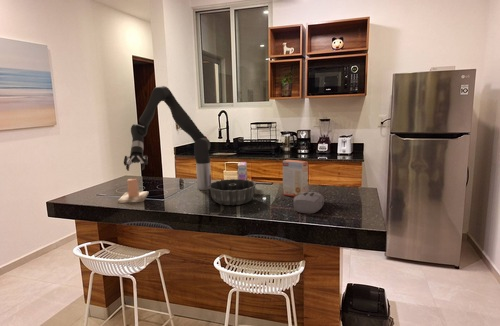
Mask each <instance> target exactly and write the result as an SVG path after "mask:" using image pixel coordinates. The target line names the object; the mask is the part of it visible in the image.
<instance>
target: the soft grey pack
mask: <svg viewBox="0 0 500 326" xmlns="http://www.w3.org/2000/svg"><path fill="white" fill-rule="evenodd" d="M324 202H325V197H324V195H323V194H322V193H319V192H315V191H308V192H303V193H300V194H298V196H295V197H293V200H292V204H293V209H294V211H295V212H298V213H302V214H311V215H312V214H315V213H318V212H319V211H320V210H321V209H322V208H323V206H324V205H325V203H324Z"/></svg>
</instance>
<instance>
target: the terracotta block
mask: <svg viewBox="0 0 500 326" xmlns="http://www.w3.org/2000/svg"><path fill="white" fill-rule="evenodd" d="M126 183H127V192H128V196H129V197H136V196H138V195H139V192H140V190H139V189H140V188H139V178H138V177H136V178H135V177H133V178H128V179H127V180H126Z"/></svg>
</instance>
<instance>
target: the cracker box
mask: <svg viewBox="0 0 500 326" xmlns="http://www.w3.org/2000/svg"><path fill="white" fill-rule="evenodd" d="M308 165H309V163H308V161H307V160H306V161H304V160H294V159H286V160H285V159H284V160H282V195H283V196H287V197H293V198H294V197H295V196H298V194H300V193H303V192H309V191H308V188H309V187H308V185H309V184H308V181H309V180H308V175H309V172H308V171H309V170H308V169H309V167H308Z"/></svg>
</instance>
